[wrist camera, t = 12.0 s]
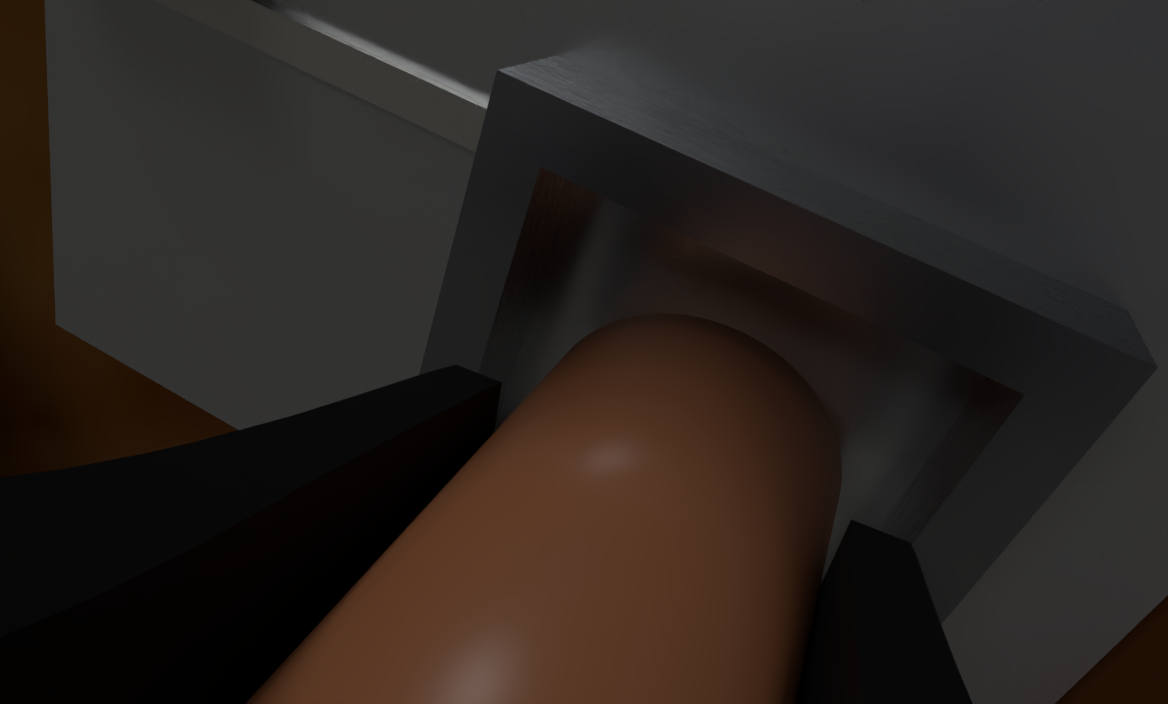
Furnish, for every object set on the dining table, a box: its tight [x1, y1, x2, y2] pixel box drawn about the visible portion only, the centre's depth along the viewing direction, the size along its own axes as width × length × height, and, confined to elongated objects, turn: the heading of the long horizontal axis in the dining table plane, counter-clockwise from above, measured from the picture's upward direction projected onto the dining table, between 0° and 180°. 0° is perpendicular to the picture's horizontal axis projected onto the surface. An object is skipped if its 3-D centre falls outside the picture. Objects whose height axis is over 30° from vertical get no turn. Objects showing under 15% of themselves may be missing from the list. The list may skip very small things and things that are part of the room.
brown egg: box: [245, 313, 842, 704], centre depth 8 cm, size 4×4×6 cm
